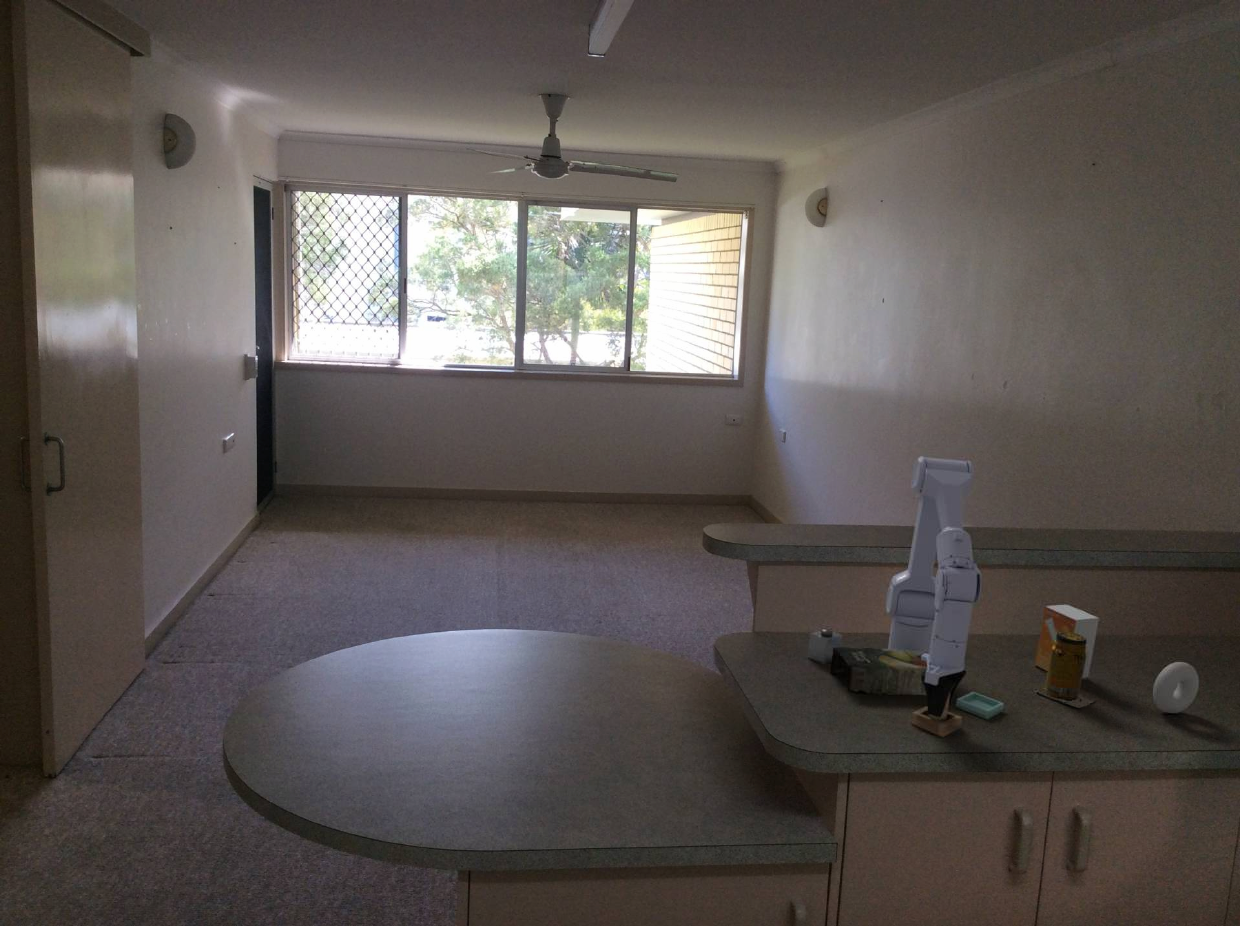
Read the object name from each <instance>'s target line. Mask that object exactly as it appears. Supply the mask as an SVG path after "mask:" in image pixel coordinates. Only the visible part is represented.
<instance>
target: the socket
mask: <svg viewBox="0 0 1240 926" xmlns="http://www.w3.org/2000/svg"><path fill="white" fill-rule="evenodd" d="M962 722H963V717H962V716H960V715H958V714H955V713H953V712H950V711H947V718H946V721H945V722H943V723H942V722H940V721H937V720H935V719H933V718H930V717H928V708H927V705H926V706H924V707H921V708H919V709H917V710H915V711H913V712H912V715H911V723H910V724H912V725H914V726H916V727H918V728H921V729H923V730H926V731H928V732H930V733H933V734H935V735H937V736H939V737H941V738H943V737H946V736H948V735H950V734H951V733H953V732H955V731H958V730H959V729H961V728H962Z"/></svg>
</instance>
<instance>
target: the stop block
mask: <svg viewBox="0 0 1240 926" xmlns="http://www.w3.org/2000/svg"><path fill="white" fill-rule="evenodd" d="M842 638H843V635H842V634H840V633H838V632H835V631H833V629H830V628H827V627H822V628H820V630H818V631H814V632H811V633H809V641H808V650H807V655H806V656H807V658H809V659H811V660H813V661H816V662H817V663H820V664H823V665H826V664H829V663H831V662H832V655H833V648H836V647H842Z"/></svg>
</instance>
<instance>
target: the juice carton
mask: <svg viewBox="0 0 1240 926" xmlns="http://www.w3.org/2000/svg"><path fill="white" fill-rule="evenodd" d="M924 653H927V654H929V653H928V652H924V651H909V650H897V649H888V648H873V647H872V648H871V647H861V648H858V647H857V648H855V647H846V646H845V647H844V646H841V647H836V648H833V655H832V661H831V662H830V663H831V664H830V670H829V671H830V673H829V674H830V675H831V676H832V675H833V674H843V675H844V674H846V677H845V681H844V684H845V687H846V689H847V691H848V692H849V693H851V691H854V693H857V692H859V691H861V692H862V691H863V692H864V693H865V692H866V694H874V695H875V694H877V695H882V694H884V695H889V696H891V695H897V696H900V695H902V696H903V695H912V696H916V695H917V696H926V691H925V687H924V684H923V682H922V680H921V673H922V672H924V671H927V662H926V661H924V660H922V659H921V656H922V655H923V654H924ZM850 690H851V691H850Z"/></svg>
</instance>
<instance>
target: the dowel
mask: <svg viewBox="0 0 1240 926" xmlns="http://www.w3.org/2000/svg"><path fill="white" fill-rule="evenodd" d="M949 698H950V694H949V696H948V699H947V702H946V705H945V708H944V711H943V713H942V715H941V717H937V716H934V715H931V714H928V717H930V718H933V719H935V720H937V721H940V722H942V723H943V722H945V721H946V718H947V711H948V710H949V708H948V705H949ZM948 712H949V711H948Z"/></svg>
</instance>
